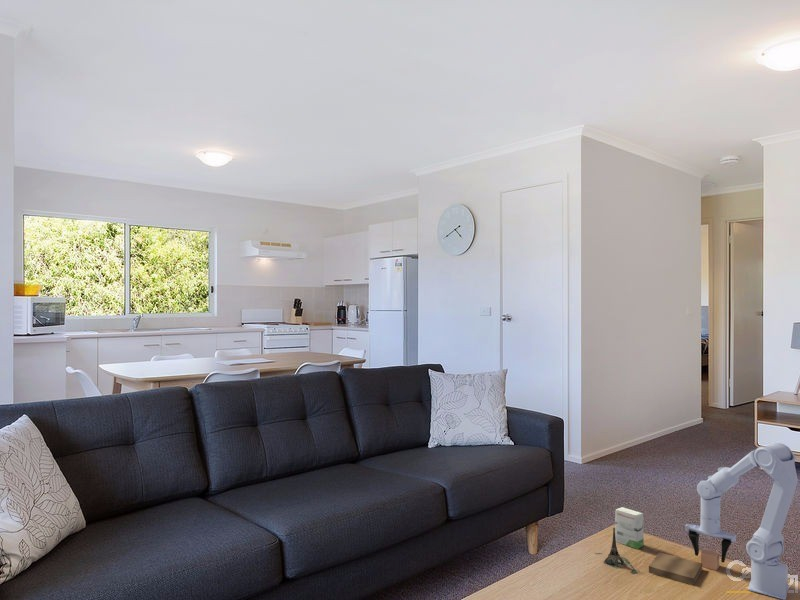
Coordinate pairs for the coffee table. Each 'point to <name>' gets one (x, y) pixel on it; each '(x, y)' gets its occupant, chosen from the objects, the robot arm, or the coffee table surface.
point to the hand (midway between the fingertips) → (709, 558)
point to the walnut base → (675, 568)
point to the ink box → (629, 527)
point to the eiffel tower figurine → (616, 557)
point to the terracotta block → (710, 559)
